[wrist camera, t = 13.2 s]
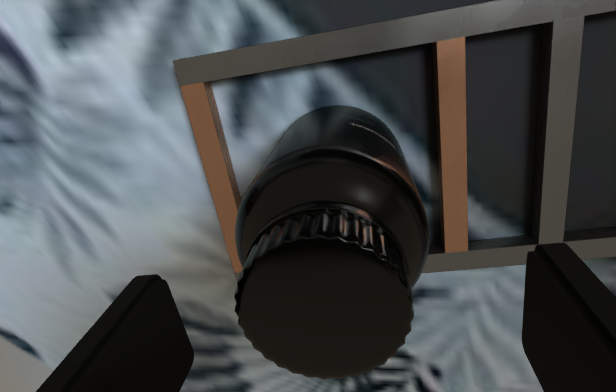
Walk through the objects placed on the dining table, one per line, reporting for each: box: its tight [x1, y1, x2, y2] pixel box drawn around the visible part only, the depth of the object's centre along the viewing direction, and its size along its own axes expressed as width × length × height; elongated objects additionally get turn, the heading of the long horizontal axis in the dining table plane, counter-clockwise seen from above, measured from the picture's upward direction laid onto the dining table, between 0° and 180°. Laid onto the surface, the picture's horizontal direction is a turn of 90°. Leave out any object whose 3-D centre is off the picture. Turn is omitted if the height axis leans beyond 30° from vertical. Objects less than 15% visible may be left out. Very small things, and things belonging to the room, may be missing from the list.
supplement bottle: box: [234, 105, 430, 379], centre depth 16 cm, size 7×7×12 cm
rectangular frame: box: [173, 0, 616, 281], centre depth 19 cm, size 30×13×1 cm, turn 100°
